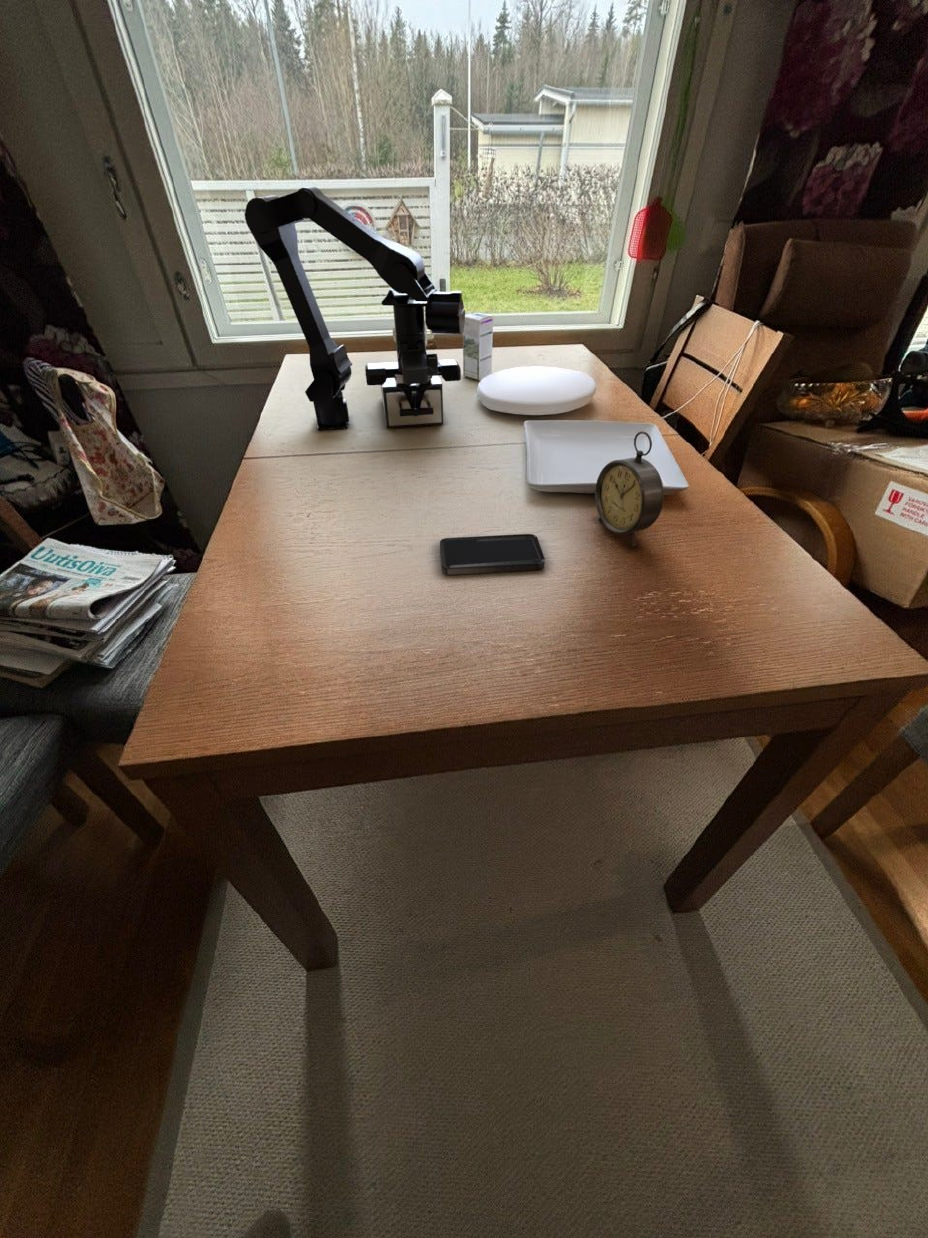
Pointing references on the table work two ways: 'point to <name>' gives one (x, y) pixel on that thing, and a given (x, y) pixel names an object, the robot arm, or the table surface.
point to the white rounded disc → (536, 390)
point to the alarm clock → (629, 494)
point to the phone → (491, 554)
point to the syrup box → (477, 345)
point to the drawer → (405, 414)
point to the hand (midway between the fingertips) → (415, 415)
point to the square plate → (592, 453)
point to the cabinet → (391, 386)
